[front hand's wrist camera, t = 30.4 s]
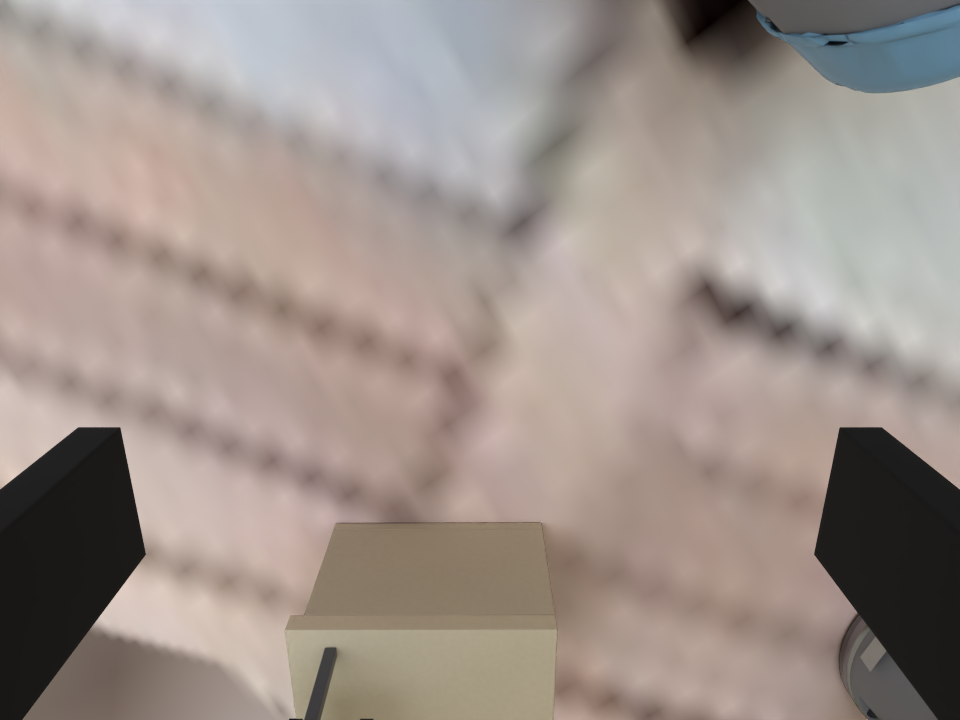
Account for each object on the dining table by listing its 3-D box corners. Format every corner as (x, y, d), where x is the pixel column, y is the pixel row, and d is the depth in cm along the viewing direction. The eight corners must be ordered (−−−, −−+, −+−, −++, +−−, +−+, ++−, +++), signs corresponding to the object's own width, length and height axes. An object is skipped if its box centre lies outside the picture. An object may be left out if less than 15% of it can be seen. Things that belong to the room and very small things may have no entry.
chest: (345, 629, 54) (317, 736, 45) (335, 523, 50) (303, 615, 41) (538, 628, 54) (549, 735, 45) (541, 522, 50) (555, 614, 41)
